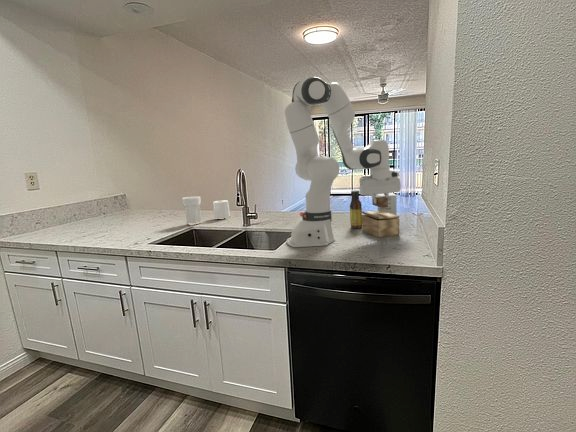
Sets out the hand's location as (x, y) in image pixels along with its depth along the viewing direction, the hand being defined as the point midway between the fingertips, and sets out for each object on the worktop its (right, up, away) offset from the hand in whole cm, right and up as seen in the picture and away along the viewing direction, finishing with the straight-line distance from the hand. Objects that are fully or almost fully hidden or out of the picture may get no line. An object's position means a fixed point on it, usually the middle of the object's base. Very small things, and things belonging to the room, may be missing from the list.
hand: (380, 202), depth 159 cm
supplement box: (+8, -12, +16) cm, 21 cm away
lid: (0, -6, +1) cm, 6 cm away
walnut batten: (0, -2, +1) cm, 2 cm away
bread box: (+1, -15, +3) cm, 15 cm away
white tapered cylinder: (-90, -8, +65) cm, 111 cm away
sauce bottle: (-8, -13, +16) cm, 22 cm away
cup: (-106, -12, +52) cm, 118 cm away
